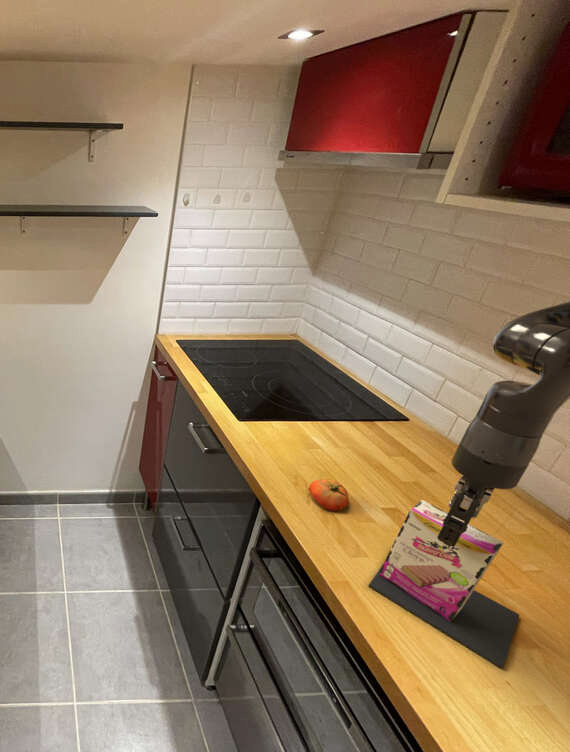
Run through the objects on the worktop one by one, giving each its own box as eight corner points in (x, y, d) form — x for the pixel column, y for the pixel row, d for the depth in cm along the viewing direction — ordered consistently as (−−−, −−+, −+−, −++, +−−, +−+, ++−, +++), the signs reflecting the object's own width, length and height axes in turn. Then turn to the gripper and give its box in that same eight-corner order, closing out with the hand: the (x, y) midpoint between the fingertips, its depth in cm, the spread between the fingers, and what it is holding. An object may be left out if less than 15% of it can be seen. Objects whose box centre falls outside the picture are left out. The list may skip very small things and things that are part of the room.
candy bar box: (376, 575, 83) (408, 508, 76) (389, 563, 85) (420, 497, 79) (451, 625, 74) (494, 554, 68) (462, 610, 77) (505, 540, 70)
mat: (517, 616, 76) (519, 614, 76) (501, 669, 69) (503, 667, 68) (393, 548, 89) (394, 546, 89) (368, 586, 81) (369, 584, 81)
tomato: (310, 503, 98) (319, 472, 100) (299, 502, 105) (307, 473, 106) (350, 518, 96) (358, 486, 98) (336, 517, 103) (344, 486, 104)
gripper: (473, 422, 73) (436, 498, 80) (450, 454, 65) (411, 536, 72) (538, 443, 68) (492, 523, 75) (522, 482, 60) (472, 567, 67)
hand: (452, 529), depth 73 cm, fingers open, 8 cm apart
